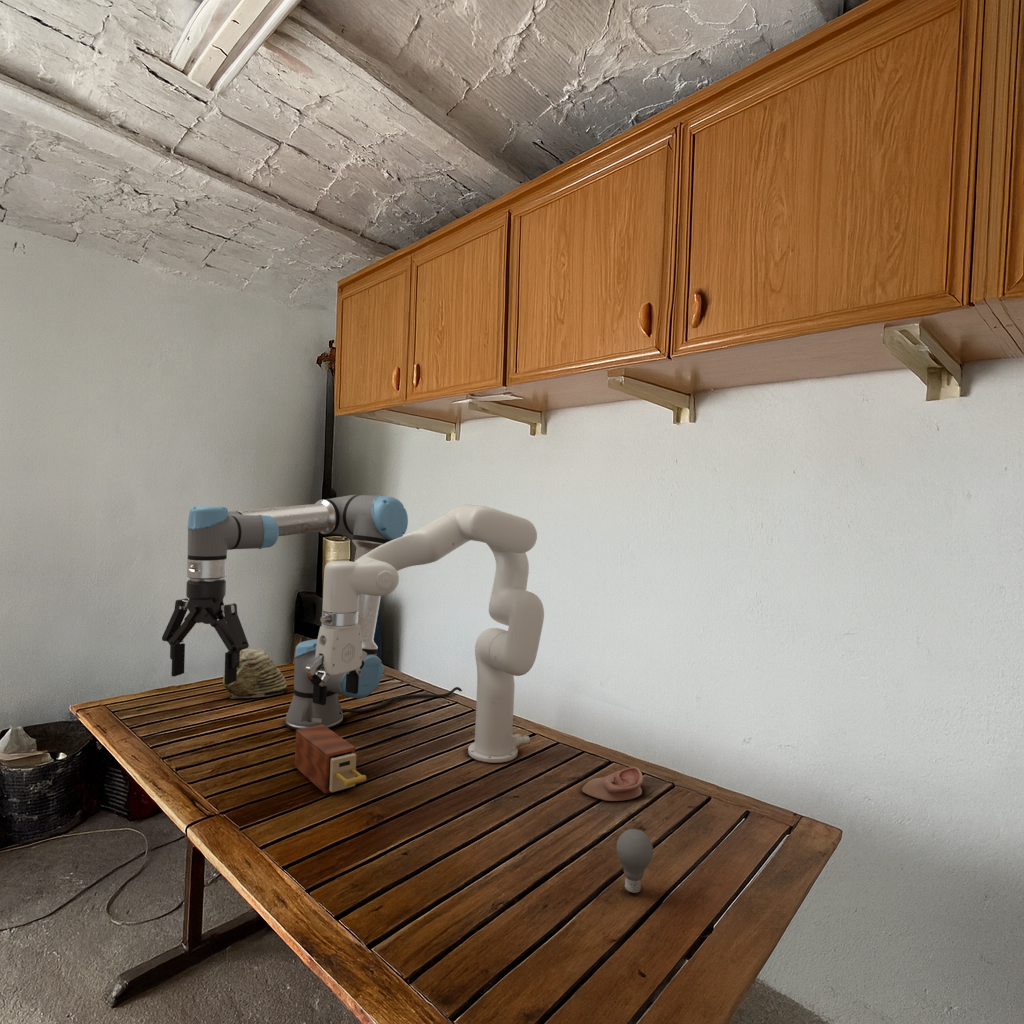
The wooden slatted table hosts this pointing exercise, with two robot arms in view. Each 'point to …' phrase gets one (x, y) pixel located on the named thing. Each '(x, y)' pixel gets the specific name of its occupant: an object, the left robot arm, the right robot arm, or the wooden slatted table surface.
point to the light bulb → (634, 857)
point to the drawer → (343, 772)
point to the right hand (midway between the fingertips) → (335, 698)
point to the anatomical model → (616, 785)
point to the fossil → (256, 676)
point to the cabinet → (318, 753)
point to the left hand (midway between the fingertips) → (203, 678)
